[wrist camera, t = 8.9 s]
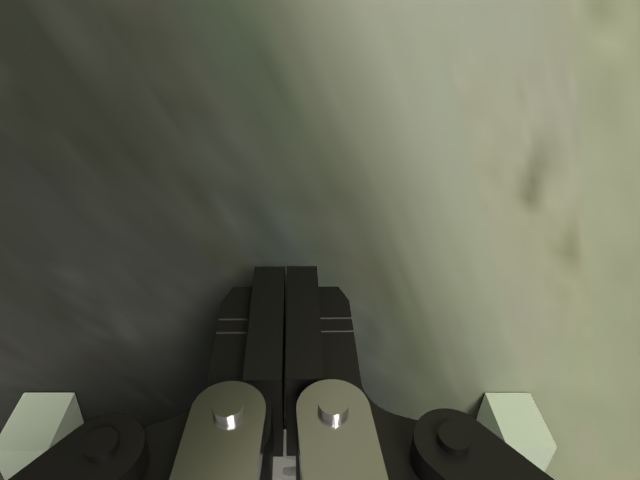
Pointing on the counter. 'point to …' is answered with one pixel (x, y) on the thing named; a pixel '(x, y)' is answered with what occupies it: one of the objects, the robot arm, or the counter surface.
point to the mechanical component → (284, 465)
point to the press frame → (65, 416)
